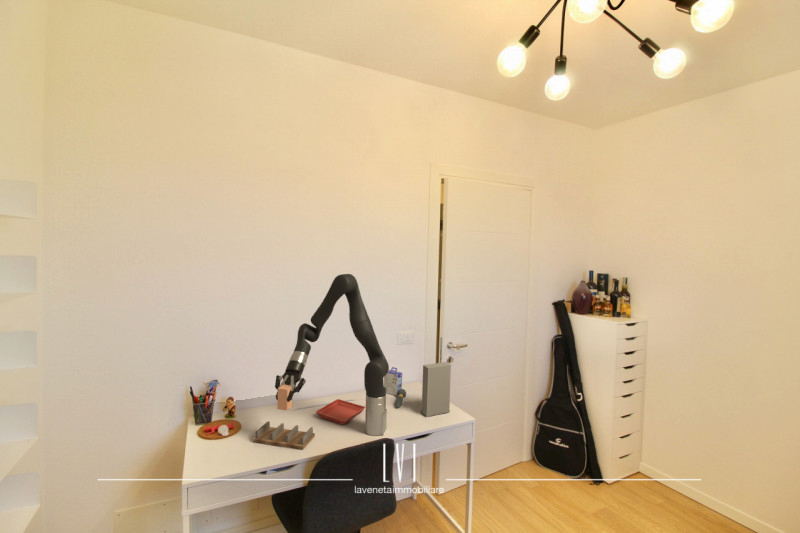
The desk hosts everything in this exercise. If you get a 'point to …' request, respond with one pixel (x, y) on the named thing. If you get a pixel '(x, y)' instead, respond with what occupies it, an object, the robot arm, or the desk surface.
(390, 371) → the ink cartridge box
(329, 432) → the desk surface
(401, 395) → the flashlight
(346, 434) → the desk surface
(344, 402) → the plant saucer
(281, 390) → the terracotta block
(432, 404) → the tall grey upright block
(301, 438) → the walnut rack
